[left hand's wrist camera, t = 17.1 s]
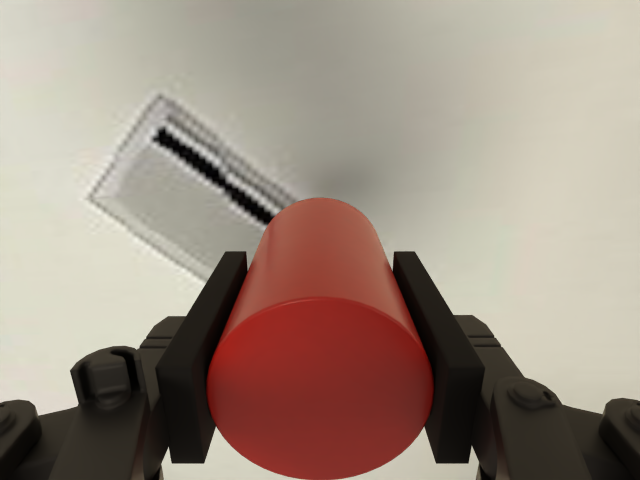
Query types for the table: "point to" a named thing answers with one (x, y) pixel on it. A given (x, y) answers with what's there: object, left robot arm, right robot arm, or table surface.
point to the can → (320, 351)
